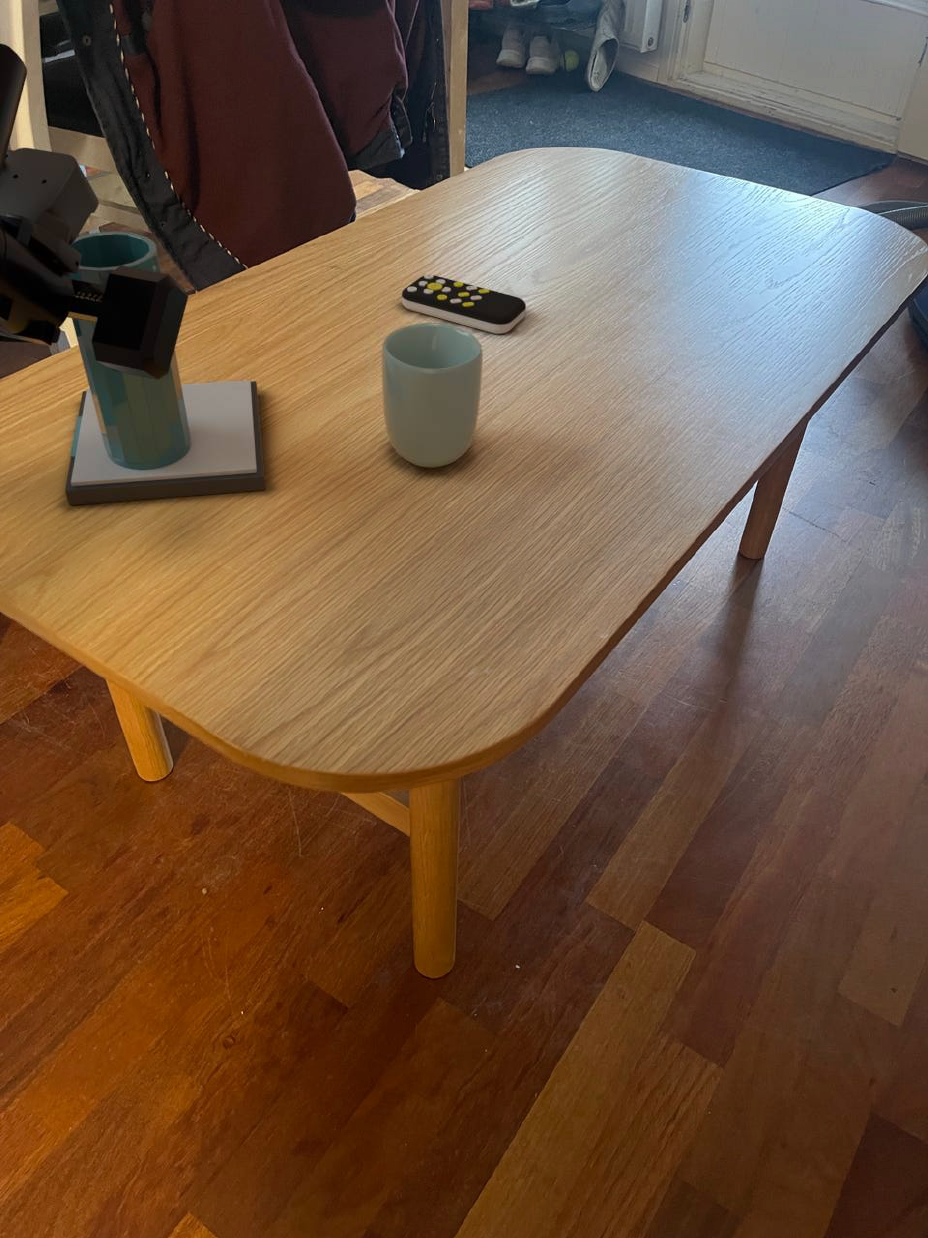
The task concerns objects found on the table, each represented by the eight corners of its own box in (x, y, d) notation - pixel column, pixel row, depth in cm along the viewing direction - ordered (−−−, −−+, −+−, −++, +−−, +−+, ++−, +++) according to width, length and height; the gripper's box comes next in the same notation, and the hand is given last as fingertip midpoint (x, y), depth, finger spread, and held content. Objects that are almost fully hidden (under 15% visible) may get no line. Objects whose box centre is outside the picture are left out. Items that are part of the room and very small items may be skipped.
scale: (68, 505, 73) (63, 486, 72) (86, 404, 84) (81, 386, 82) (265, 490, 76) (263, 471, 74) (257, 394, 86) (255, 376, 85)
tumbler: (153, 479, 73) (109, 278, 62) (88, 454, 75) (34, 255, 64) (208, 439, 77) (175, 244, 66) (145, 416, 79) (103, 224, 68)
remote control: (504, 338, 96) (506, 320, 95) (396, 308, 100) (396, 290, 99) (529, 315, 100) (531, 296, 99) (424, 286, 104) (424, 269, 103)
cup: (366, 448, 81) (362, 339, 74) (436, 419, 85) (439, 313, 78) (423, 491, 77) (425, 380, 70) (494, 458, 80) (502, 350, 74)
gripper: (143, 139, 52) (256, 262, 67) (-139, 93, 55) (30, 220, 71) (91, 334, 52) (217, 413, 67) (-188, 276, 55) (-8, 364, 70)
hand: (112, 347), depth 69 cm, fingers open, 9 cm apart
